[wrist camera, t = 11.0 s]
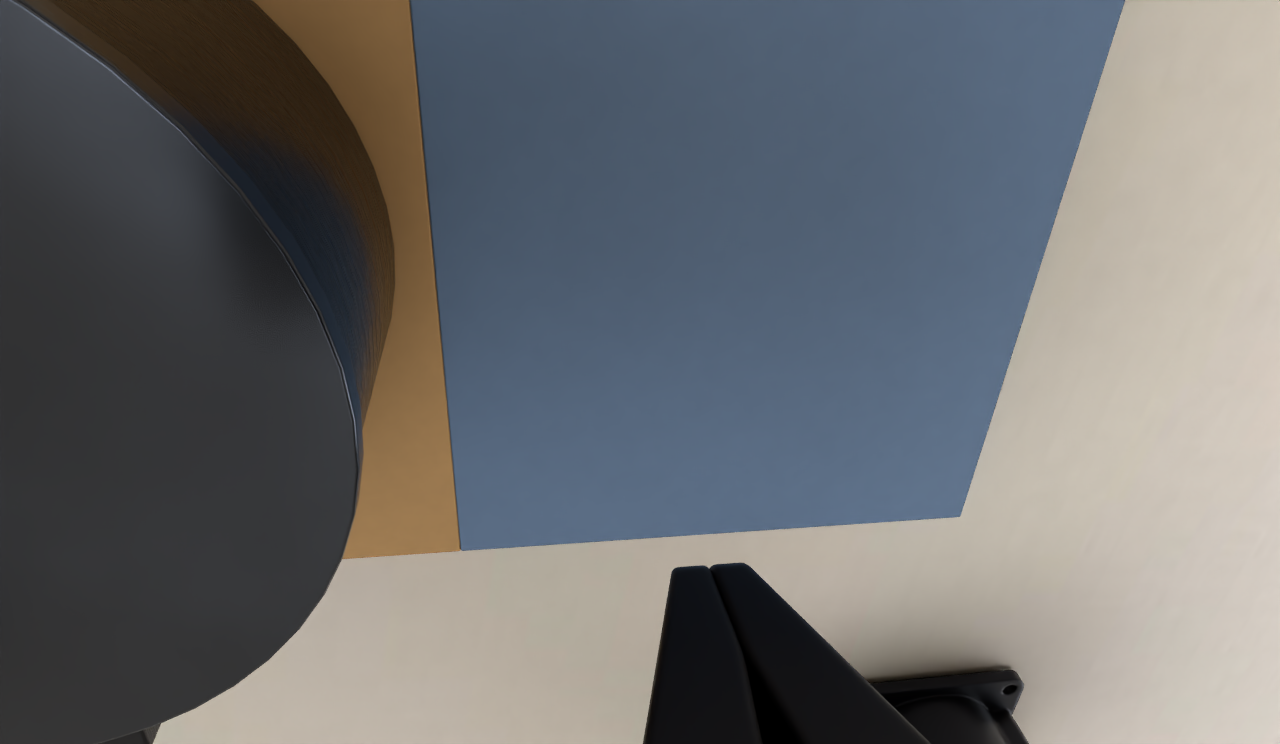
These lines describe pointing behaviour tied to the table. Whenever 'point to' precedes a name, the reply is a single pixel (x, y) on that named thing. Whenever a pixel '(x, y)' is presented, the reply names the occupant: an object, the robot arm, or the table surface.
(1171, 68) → the table surface
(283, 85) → the pot
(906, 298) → the desk mat
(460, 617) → the table surface
